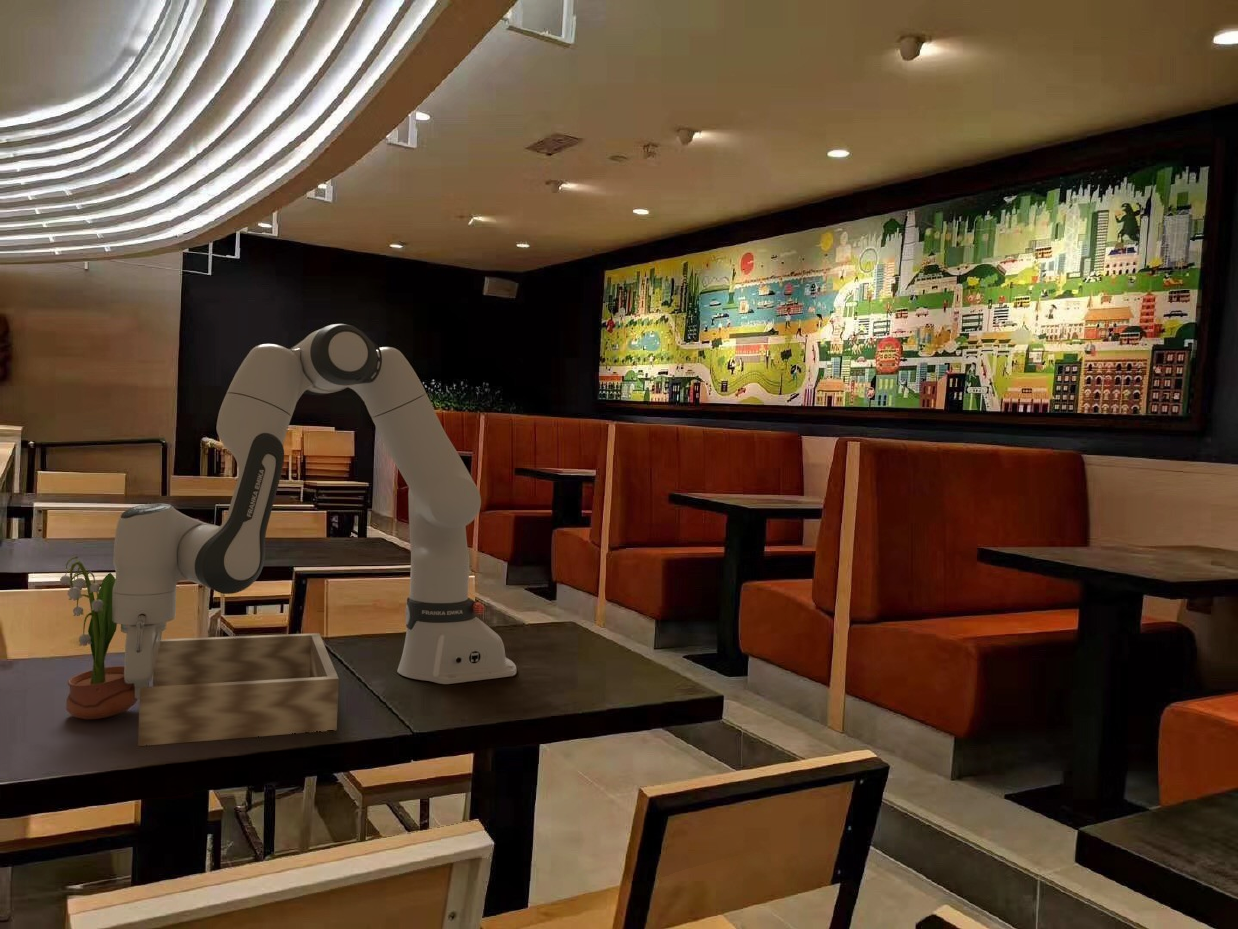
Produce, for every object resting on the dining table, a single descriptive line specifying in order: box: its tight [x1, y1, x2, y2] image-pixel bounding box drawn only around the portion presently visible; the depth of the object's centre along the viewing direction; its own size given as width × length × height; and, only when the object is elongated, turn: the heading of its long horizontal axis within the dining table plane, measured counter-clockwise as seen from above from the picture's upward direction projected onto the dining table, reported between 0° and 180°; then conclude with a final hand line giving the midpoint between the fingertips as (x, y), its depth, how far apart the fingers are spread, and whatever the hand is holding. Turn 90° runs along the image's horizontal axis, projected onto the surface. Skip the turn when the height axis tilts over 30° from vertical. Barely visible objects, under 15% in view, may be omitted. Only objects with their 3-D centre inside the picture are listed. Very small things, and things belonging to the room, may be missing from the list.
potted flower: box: [58, 555, 138, 720], centre depth 140 cm, size 12×10×25 cm
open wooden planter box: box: [137, 632, 340, 747], centre depth 149 cm, size 27×31×8 cm
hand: (141, 696), depth 143 cm, fingers closed, pressing on potted flower
